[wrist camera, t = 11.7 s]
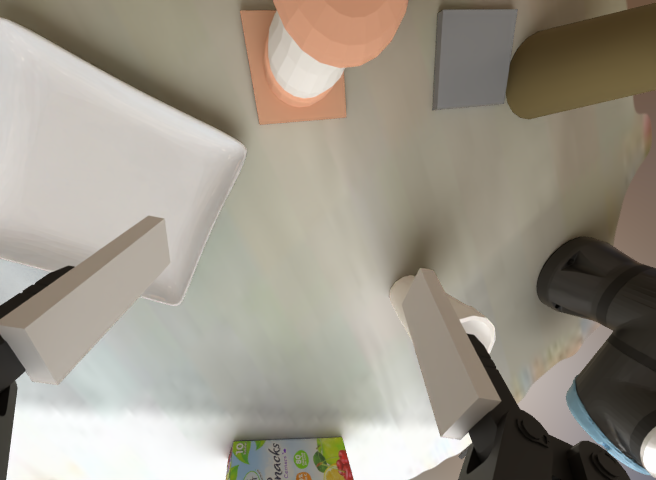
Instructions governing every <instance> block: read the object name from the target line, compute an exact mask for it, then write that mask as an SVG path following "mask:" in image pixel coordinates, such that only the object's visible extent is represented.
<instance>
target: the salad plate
mask: <svg viewBox="0 0 656 480" xmlns="http://www.w3.org/2000/svg"><path fill="white" fill-rule="evenodd" d="M246 155H247V149H246V147H245V146H244V145H243V144H242V143H241V142H240V141H238V140H237V139H235V138H234V137H232V136H230V135H228V134H226V133H224V132H223V131H221V130H219V129H217V128H215V127H213V126H211V125H209V124H207V123H205V122H203V121H201V120H199V119H196V118H194V117H192V116H190V115H188V114H186V113H184V112H182V111H180V110H178V109H176V108H174V107H172V106H170V105H168V104H166V103H164V102H162V101H160V100H158V99H156V98H154V97H152V96H150V95H148V94H146V93H144V92H142V91H140V90H138V89H136V88H134V87H133V86H131V85H129V84H127V83H125V82H123V81H121V80H120V79H118V78H116V77H114V76H112V75H110V74H108V73H107V72H105V71H103V70H101V69H99V68H97V67H96V66H94V65H92V64H90V63H89V62H87V61H85V60H83V59H81V58H79V57H78V56H76V55H74V54H73V53H71V52H69V51H67V50H65V49H64V48H62V47H60V46H58V45H57V44H55V43H53V42H51V41H50V40H48V39H46V38H44V37H42V36H41V35H39V34H37V33H35V32H33V31H31V30H29V29H27V28H25V27H24V26H22V25H20V24H18V23H16V22H13V21H11V20H8V19H5V18H2V17H0V259H4V260H7V261H11V262H15V263H19V264H23V265H26V266H30V267H34V268H38V269H42V270H45V271H49V272H54V271H56V270H58V269H61V268H63V267H66V266H68V265H69V266H74V267H76V266H77V265H78V264H80V263H81V262H83V261H84V260H86V259H87V258H88V257H90V256H91V255H93V254H94V253H96V252H97V251H98V250H100V249H101V248H103V247H104V246H106V245H107V244H108V243H110V242H111V241H113V240H114V239H115V238H117V237H118V236H120V235H121V234H123V233H124V232H125V231H127V230H128V229H130V228H131V227H133V226H134V225H135V224H137V223H138V222H140V221H141V220H143V219H144V218H145V217H147V216H148V215H149V216H154V217H159V218H165V225H166V232H167V240H168V247H169V255H170V262H171V263H170V264H169V265H168V266H167V268H166V269H165V270H164V271H163V272H162V273H161V274H160V275H159V276H158V277H157V278H156V279H155V281H154V282H153V283H152V284H151V285H150V286H149V287H148V288H147V289H146V290H145V291H144V292H143V293H142V295H141V296H140V297H142V298H145V299H149V300H152V301H156V302H159V303H163V304H167V305H172V306H177V305H179V304H180V303H181V302H182V301H183V299H184V297H185V295H186V293H187V290H188V288H189V285H190V283H191V280H192V278H193V275H194V273H195V270H196V267H197V265H198V262H199V260H200V257H201V255H202V252H203V250H204V248H205V245H206V243H207V240H208V238H209V236H210V233H211V231H212V229H213V227H214V224H215V222H216V220H217V218H218V216H219V213H220V211H221V209H222V207H223V205H224V203H225V201H226V199H227V197H228V195H229V193H230V192H231V190H232V188H233V186H234V184H235V182H236V180H237V178H238V176H239V173H240V171H241V169H242V166H243V164H244V162H245V159H246Z"/></svg>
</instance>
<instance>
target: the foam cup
mask: <svg viewBox="0 0 656 480" xmlns="http://www.w3.org/2000/svg"><path fill="white" fill-rule="evenodd" d="M415 277H416V276H413V275H409V276H405V277H402V278H401V279H399V280H398V281H396V282H395V283H394V285H393V286H392V288H391V290H390V294H389V298H390V301H391V304H392V306H393V308H394V310H395V311H396V313H397V315H398V317H399V319H400V320H401V322H402V324H403V326H404V328H405V329H406V331H407V333H408V335H409V337H410V339H411V340H412V338H411V335H410V331H409V328H408V324H407V321H406V318H405V314H404V311H403V307H402V303H403V301H404V299H405V297H406V295H407V293H408V291H409V289H410V287H411V285H412V283H413V281H414V279H415ZM446 295H447V297H448V299H449V301H450V303H451V305H452V307H453V309H454V311H455V312H456V314H457V316H458V318H459V320H460V322H461V324H462V326H463V328H464V330H465V332H466V333H467V334H473V335H475V336H476V337H477V338H478V340H479V341H480V342H481V343H482V344H483V345H484V346H485V348H486V350H487V352H488V353H490V352H491V349H492V347H493V344H494V342H495V339H496V338H495V327H494V325H493V324H492V323H491V322H490V321H489V320H488V319H487V318H486V317H485V316H484V315H482V314H481V313H480V312H478V311H477V310H476V309H475V308H473V307H472V306H467V305H465V304H464V303H462V302H460V301H459V300H457V299H455V298H454V297H452V296H450V295H448V294H447V293H446ZM412 342H413V341H412Z"/></svg>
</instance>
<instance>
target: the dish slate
mask: <svg viewBox="0 0 656 480" xmlns="http://www.w3.org/2000/svg"><path fill="white" fill-rule="evenodd" d="M517 11H518V9H494V10H442V11H441V12H439V13H438V16H437V35H436V54H435V73H434V92H433V110H441V109H452V108H464V107H476V106H488V105H499V104H504V101H505V94H506V87H507V80H508V73H509V66H510V59H511V52H512V45H513V38H514V31H515V24H516V17H517Z"/></svg>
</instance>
